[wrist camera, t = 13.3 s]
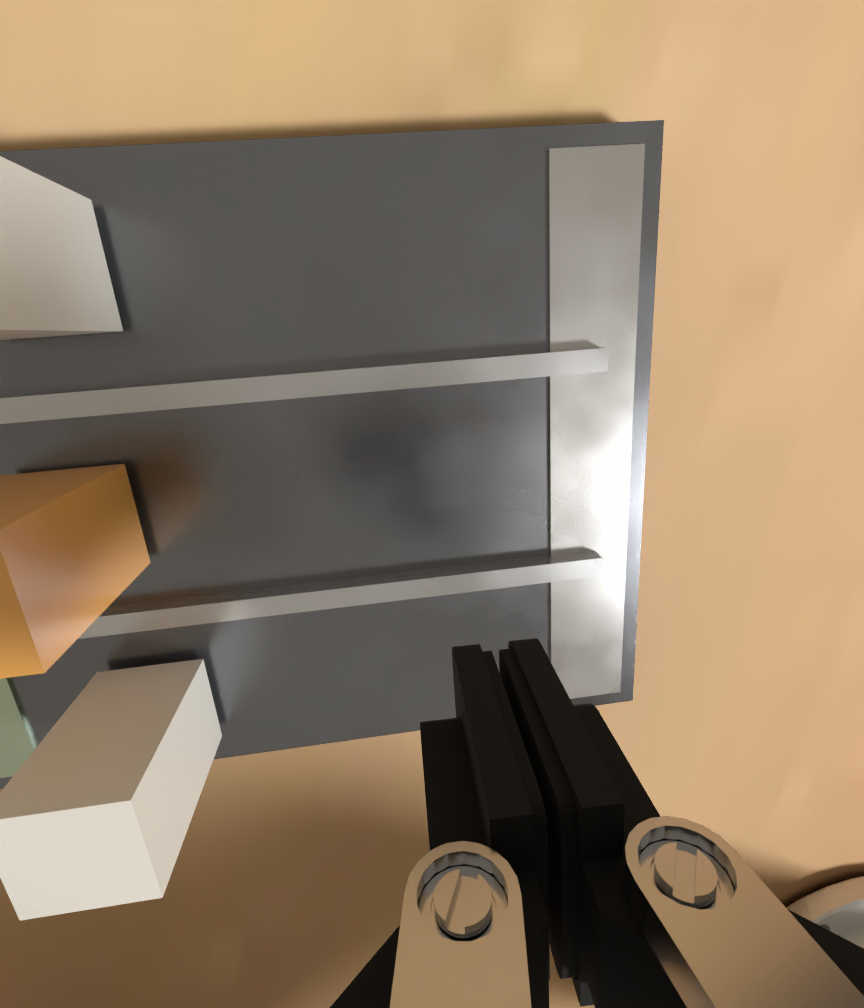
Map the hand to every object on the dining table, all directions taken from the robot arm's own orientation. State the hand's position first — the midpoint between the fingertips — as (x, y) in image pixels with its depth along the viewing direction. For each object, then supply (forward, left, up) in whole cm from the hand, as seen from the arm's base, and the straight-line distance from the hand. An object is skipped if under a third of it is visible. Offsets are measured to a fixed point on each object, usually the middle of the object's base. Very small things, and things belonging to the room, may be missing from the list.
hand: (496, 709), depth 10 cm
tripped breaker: (+10, -3, -6) cm, 12 cm away
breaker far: (+9, +3, -6) cm, 11 cm away
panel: (+5, -3, -7) cm, 9 cm away
